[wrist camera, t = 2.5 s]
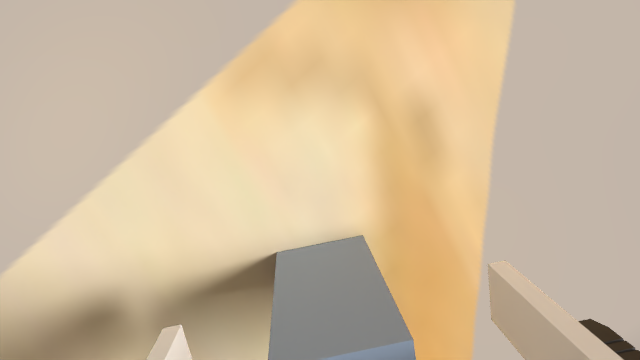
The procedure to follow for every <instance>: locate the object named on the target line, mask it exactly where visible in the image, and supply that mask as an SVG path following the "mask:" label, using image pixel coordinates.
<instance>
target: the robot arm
mask: <svg viewBox="0 0 640 360" xmlns="http://www.w3.org/2000/svg"><path fill="white" fill-rule="evenodd" d="M488 274H489V290H490V305H491V319H492V321H493V322H494V323H495V324H496V325H497V327H498V328H499V329H500V330H501V331H502V333H504V335H505V336H506V337H507V338H508V340H509V341H510V342H511V343H512V345H513V346H514V347H515V348H516V349H517V351H518V352H519V353H520V354H521V355H522V357H523V358H524V359H525V360H640V351H638V350H635V348H634V347H633V346H632V345H631V344H629V343H628V342H627V341H624V340H623V338H622V337H620V336H619V335H618V334H616V333H615V332H614V331H613V330H611V329H610V328H609V327H607V326H605V325H602V324H600V323H598V322H596V321H594V320H592V319H588V320H583V321H577V320H576V319H575V318H573V317H572V316H571V315H570V314H568V313H567V312H566V311H565V310H564V309H562V308H561V307H560V306H559V305H558V304H557V303H555V302H554V301H553V300H552V299H551V298H550V297H548V296H547V295H546V294H545V293H544V292H542V291H541V290H540V289H539V288H537V287H536V286H535V285H534V284H533V283H532V282H530V281H529V280H528V279H527V278H526V277H524V276H523V275H522V274H521V273H520V272H519V271H517V270H516V269H515V268H514V267H513V266H511V265H510V264H509V263H508V262H507V261H500V262H495V263H490V264H488ZM146 360H193V359H192V356H191V353H190V350H189V347H188V344H187V341H186V338H185V334H184V331H183V328H182V325H176V326H171V327H166V328H163V329H162V331H161V333H160V335H159V336H158V338H157V340H156V342H155V344H154V346H153V348H152V350H151V351H150V353H149V355H148V357H147V359H146Z"/></svg>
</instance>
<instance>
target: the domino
mask: <svg viewBox="0 0 640 360" xmlns="http://www.w3.org/2000/svg"><path fill="white" fill-rule="evenodd" d="M268 360H416V357H415V350H414V342H413V338H412V336H411V334H410V332H409V330H408V328H407V326H406V324H405V322H404V320H403V318H402V316H401V314H400V312H399V309H398V307H397V305H396V303H395V301H394V299H393V297H392V295H391V293H390V291H389V289H388V287H387V285H386V283H385V281H384V278H383V276H382V274H381V272H380V270H379V268H378V266H377V264H376V262H375V260H374V258H373V256H372V254H371V252H370V249H369V247H368V245H367V243H366V241H365V239H364V237H363V235H362V236H357V237H352V238H347V239H342V240H337V241H332V242H327V243H322V244H317V245H312V246H307V247H302V248H297V249H292V250H287V251H282V252H277V256H276V268H275V281H274V293H273V305H272V318H271V330H270V343H269V355H268Z"/></svg>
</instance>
